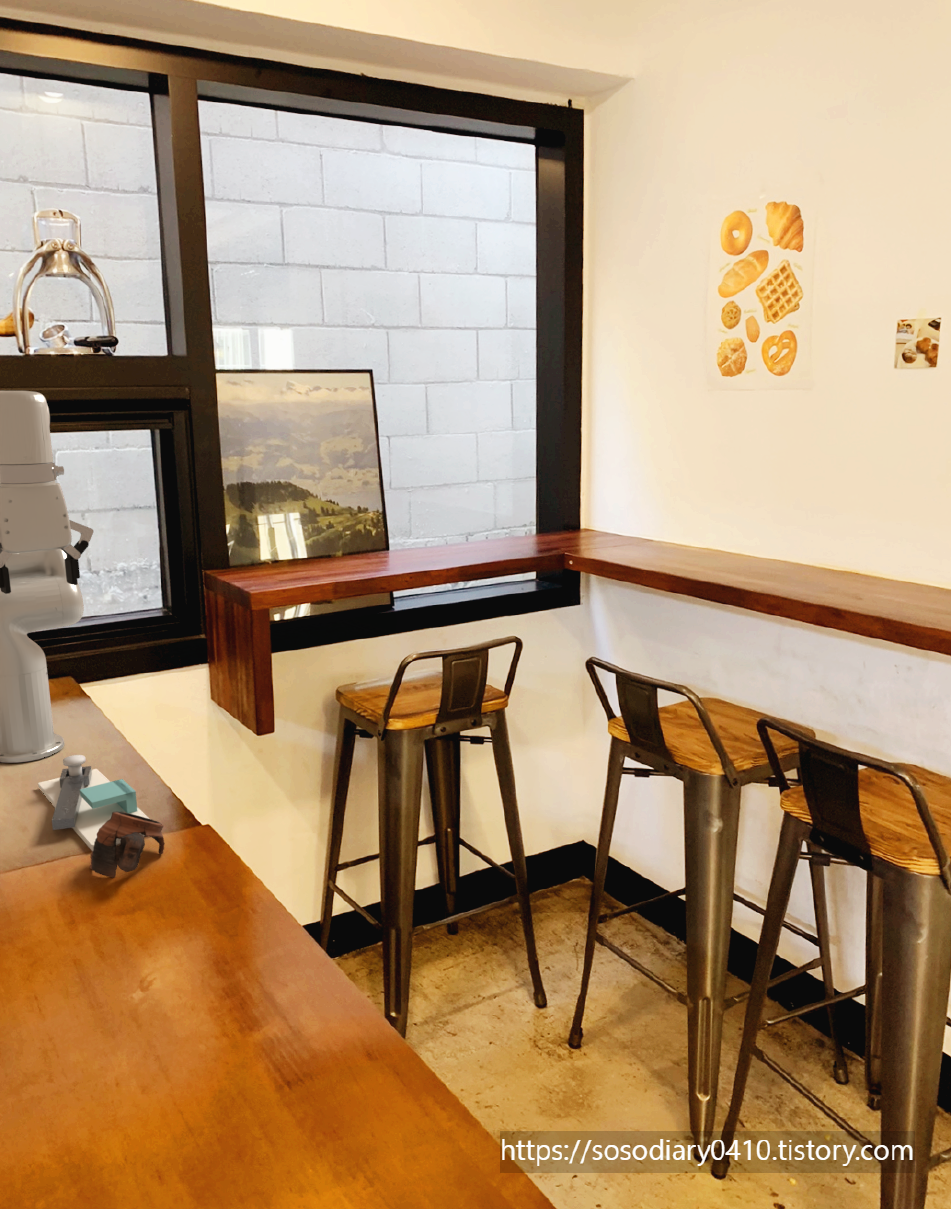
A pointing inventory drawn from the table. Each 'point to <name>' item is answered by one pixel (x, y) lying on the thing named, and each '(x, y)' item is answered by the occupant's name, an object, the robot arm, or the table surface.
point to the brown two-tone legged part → (123, 843)
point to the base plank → (87, 816)
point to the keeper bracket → (111, 795)
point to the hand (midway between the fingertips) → (39, 588)
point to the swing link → (70, 798)
